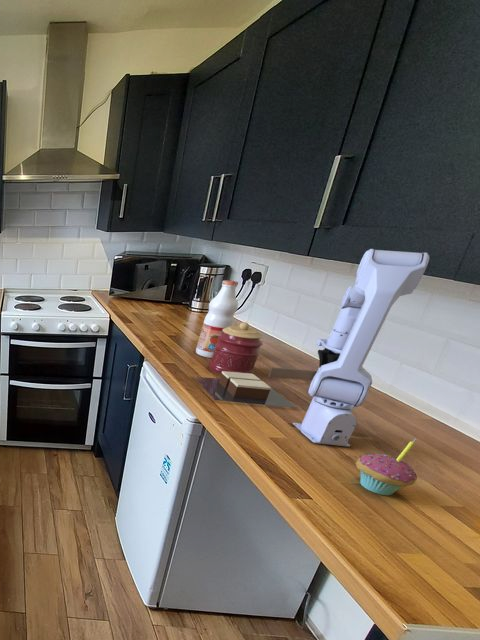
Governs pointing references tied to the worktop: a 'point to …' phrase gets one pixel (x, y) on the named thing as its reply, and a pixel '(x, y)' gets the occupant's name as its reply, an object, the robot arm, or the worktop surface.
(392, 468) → the cupcake
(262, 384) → the cake front half
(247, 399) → the cake board
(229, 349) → the kitchen canister
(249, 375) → the cake back half
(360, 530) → the worktop surface
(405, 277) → the robot arm
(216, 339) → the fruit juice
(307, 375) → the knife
